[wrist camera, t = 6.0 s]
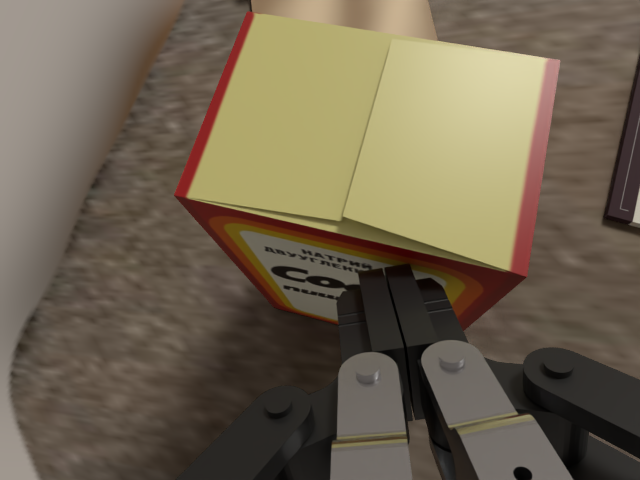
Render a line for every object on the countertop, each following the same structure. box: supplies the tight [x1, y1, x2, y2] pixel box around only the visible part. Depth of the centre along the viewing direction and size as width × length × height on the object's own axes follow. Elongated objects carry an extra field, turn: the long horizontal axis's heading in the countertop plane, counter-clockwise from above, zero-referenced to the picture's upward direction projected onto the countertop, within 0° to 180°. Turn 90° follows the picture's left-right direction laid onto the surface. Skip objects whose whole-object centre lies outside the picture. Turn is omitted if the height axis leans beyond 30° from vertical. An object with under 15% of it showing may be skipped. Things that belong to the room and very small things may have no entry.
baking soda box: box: [174, 11, 560, 331], centre depth 21 cm, size 10×6×16 cm
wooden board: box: [251, 0, 438, 41], centre depth 32 cm, size 12×17×2 cm
